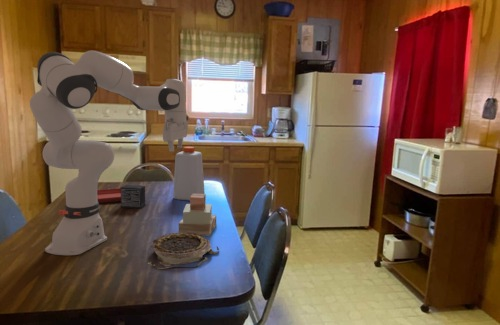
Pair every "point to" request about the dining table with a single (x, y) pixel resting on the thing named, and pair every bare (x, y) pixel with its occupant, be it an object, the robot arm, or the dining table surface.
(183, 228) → the lower slab
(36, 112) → the robot arm
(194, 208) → the terracotta cube
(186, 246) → the pie
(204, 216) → the upper slab
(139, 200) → the small box
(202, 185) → the plastic bottle
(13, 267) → the dining table surface
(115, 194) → the plant saucer
